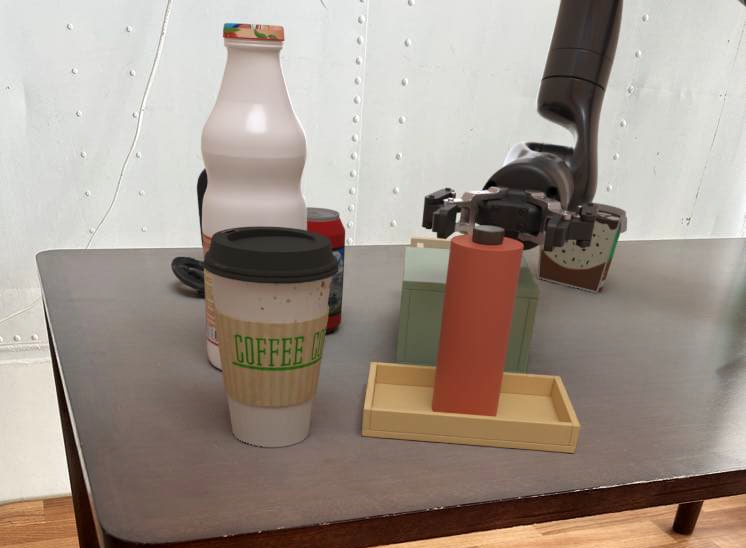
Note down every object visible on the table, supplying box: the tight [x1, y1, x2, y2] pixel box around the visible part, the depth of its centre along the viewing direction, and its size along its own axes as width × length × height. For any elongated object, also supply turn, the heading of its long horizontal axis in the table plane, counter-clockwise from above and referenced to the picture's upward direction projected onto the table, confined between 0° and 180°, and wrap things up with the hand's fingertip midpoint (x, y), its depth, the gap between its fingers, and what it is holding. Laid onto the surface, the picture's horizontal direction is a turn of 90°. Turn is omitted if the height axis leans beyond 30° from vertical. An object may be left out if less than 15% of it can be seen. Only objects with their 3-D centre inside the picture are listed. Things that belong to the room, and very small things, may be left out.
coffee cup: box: [202, 226, 339, 448], centre depth 62 cm, size 10×10×15 cm
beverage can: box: [306, 206, 346, 333], centre depth 87 cm, size 7×7×12 cm
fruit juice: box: [200, 22, 308, 371], centre depth 73 cm, size 9×9×28 cm
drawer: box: [409, 235, 452, 250], centre depth 95 cm, size 18×11×7 cm, turn 175°
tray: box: [361, 361, 581, 454], centre depth 70 cm, size 17×11×2 cm, turn 85°
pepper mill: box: [432, 225, 524, 417], centre depth 67 cm, size 6×6×15 cm
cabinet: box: [395, 246, 541, 374], centre depth 84 cm, size 15×13×9 cm
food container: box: [536, 202, 628, 294], centre depth 110 cm, size 12×6×10 cm, turn 46°
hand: (495, 231), depth 64 cm, fingers open, 8 cm apart
